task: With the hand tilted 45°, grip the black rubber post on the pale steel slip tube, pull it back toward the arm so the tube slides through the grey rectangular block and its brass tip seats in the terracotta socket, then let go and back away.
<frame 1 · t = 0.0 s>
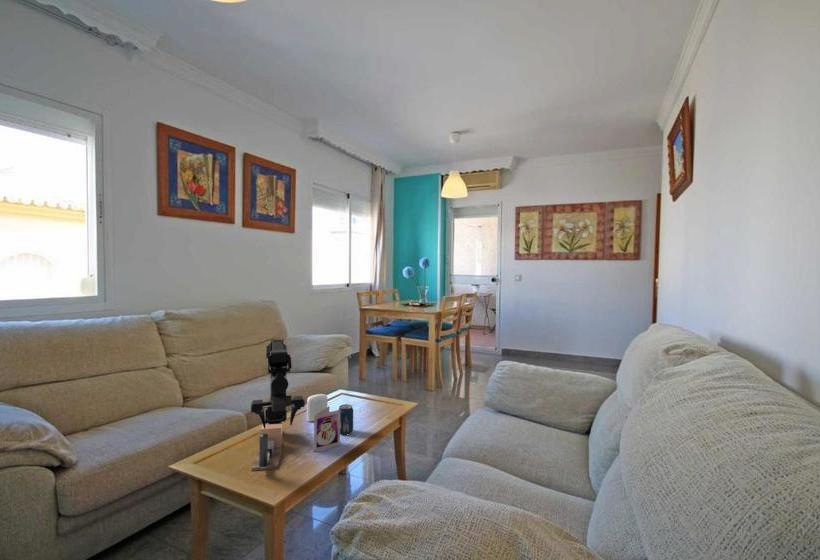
hand: (277, 426, 142), 15 cm above the table, tool pointing down, fingers open, 9 cm apart
socket: (271, 436, 156), on the base board, point 5 cm above the table
soda can: (345, 433, 172), on the table
greeting card: (324, 446, 159), on the table
base board: (267, 458, 147), on the table
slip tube: (266, 443, 142), point 8 cm above the table, slide at 0.0 cm
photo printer: (317, 419, 187), on the table
grey rectangular block: (268, 448, 149), on the base board, point 3 cm above the table
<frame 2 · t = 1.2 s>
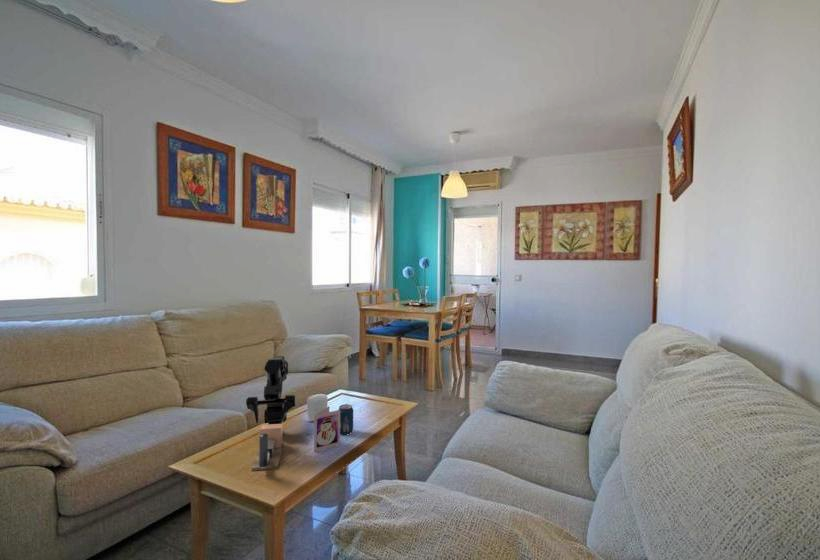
hand: (269, 422, 149), 13 cm above the table, tool tilted 45°, fingers open, 9 cm apart
nothing on the table moved.
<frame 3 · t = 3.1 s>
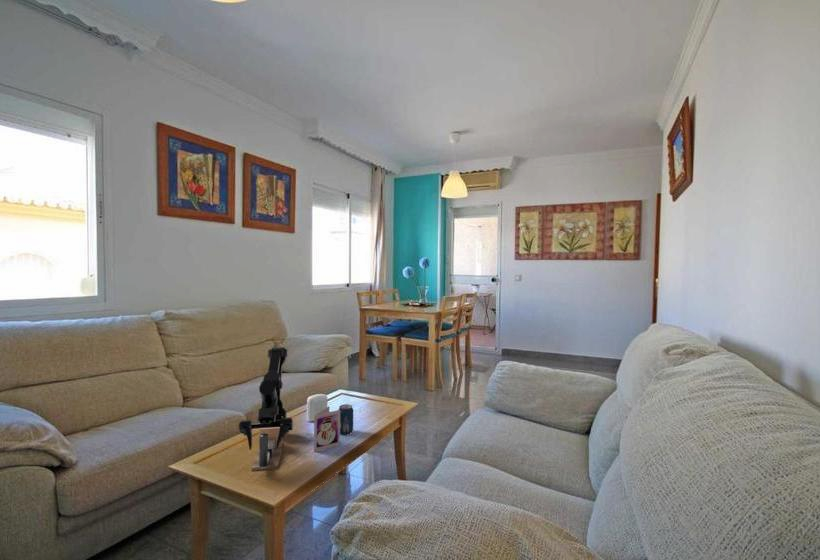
hand: (263, 448, 136), 9 cm above the table, tool tilted 45°, fingers open, 9 cm apart
nothing on the table moved.
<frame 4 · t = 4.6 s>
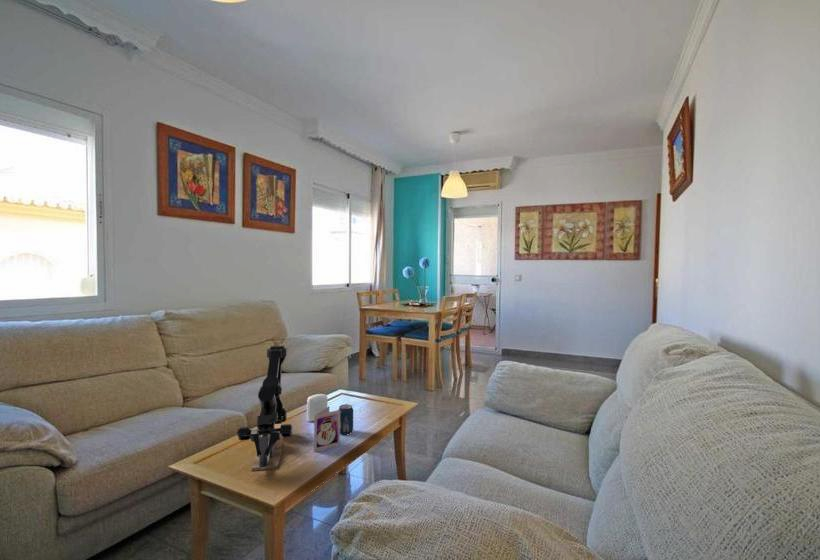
hand: (262, 456, 134), 7 cm above the table, tool tilted 45°, fingers closed on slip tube, 3 cm apart
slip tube: (266, 443, 142), point 8 cm above the table, slide at 0.0 cm, touching gripper
everything else where it was.
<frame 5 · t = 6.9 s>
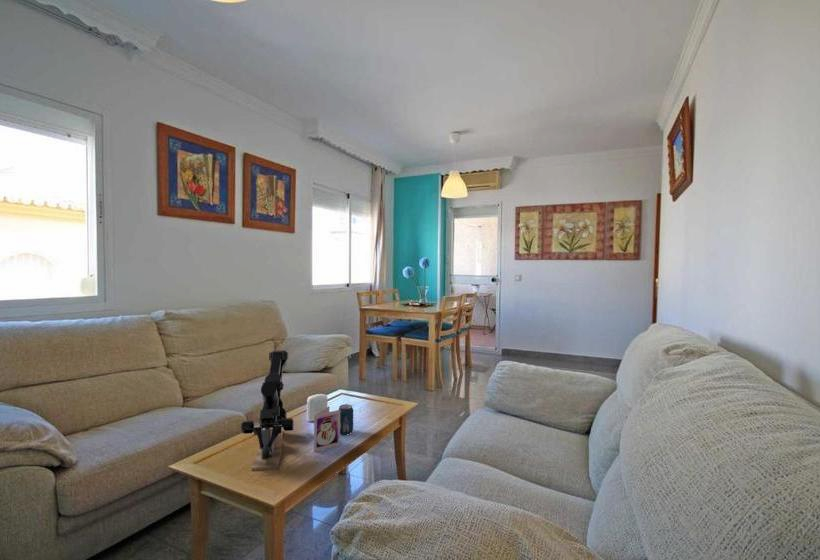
hand: (265, 448, 140), 7 cm above the table, tool tilted 45°, fingers closed on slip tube, 3 cm apart
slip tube: (268, 436, 148), point 8 cm above the table, slide at 6.0 cm, touching gripper
everything else where it was.
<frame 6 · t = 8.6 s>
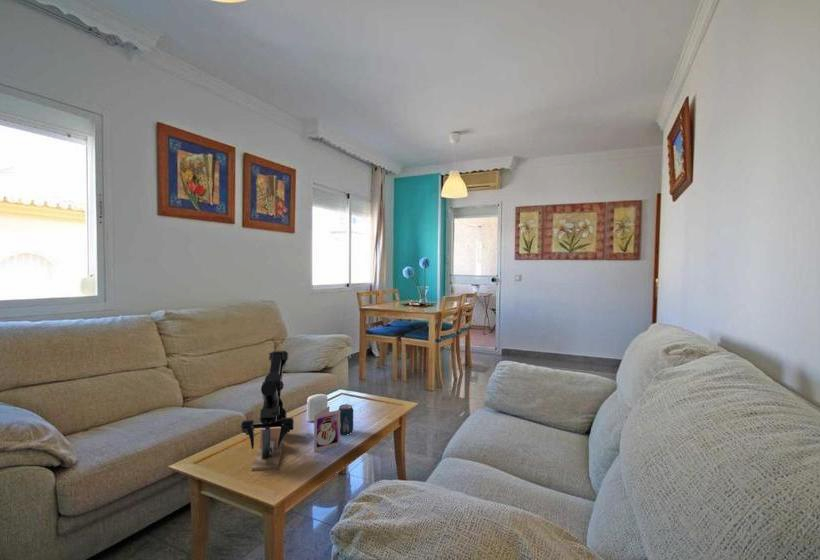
hand: (265, 447, 141), 7 cm above the table, tool tilted 45°, fingers open, 9 cm apart
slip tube: (268, 436, 148), point 8 cm above the table, slide at 6.0 cm
everything else where it was.
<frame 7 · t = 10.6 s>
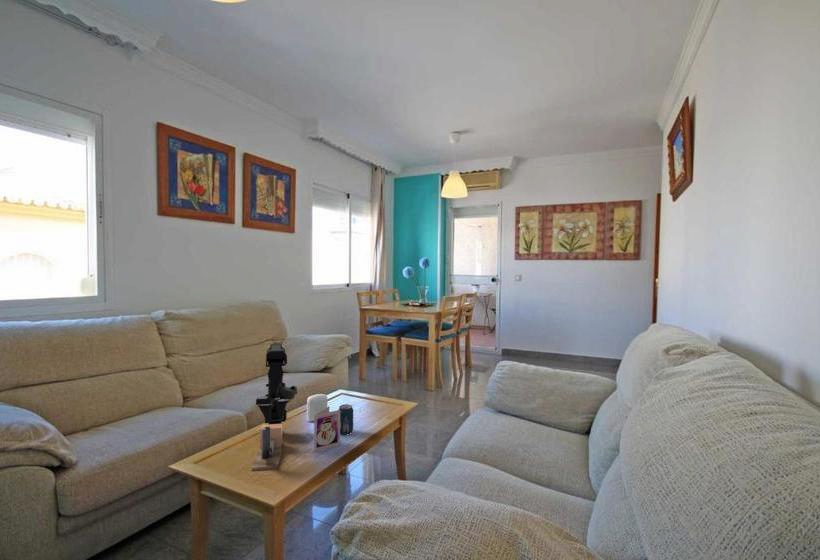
hand: (274, 420, 153), 13 cm above the table, tool pointing down, fingers open, 9 cm apart
nothing on the table moved.
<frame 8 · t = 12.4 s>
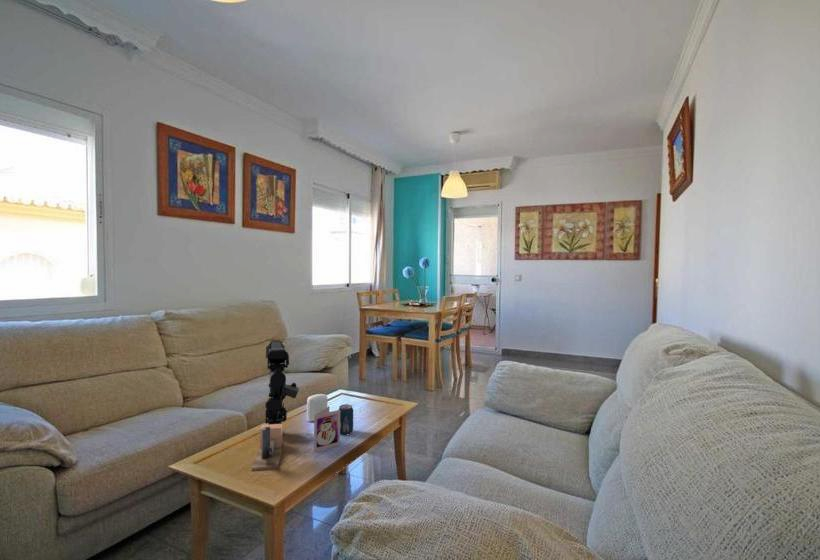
hand: (276, 418, 154), 13 cm above the table, tool pointing down, fingers open, 9 cm apart
nothing on the table moved.
at the end: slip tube slide at 6.0 cm; the gripper is holding nothing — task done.
